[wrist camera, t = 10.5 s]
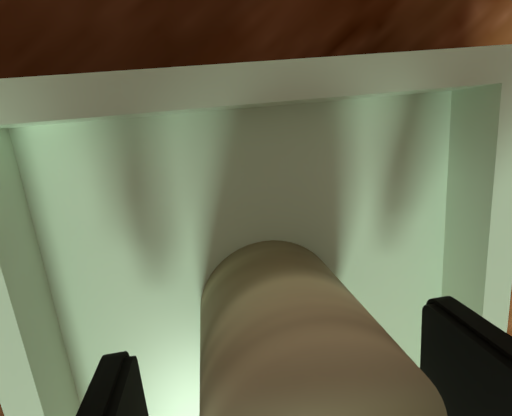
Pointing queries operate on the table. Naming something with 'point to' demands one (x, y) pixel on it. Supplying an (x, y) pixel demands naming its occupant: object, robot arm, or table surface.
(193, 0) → the table surface
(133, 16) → the table surface
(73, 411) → the bin
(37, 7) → the table surface
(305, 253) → the beige cylinder
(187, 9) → the table surface
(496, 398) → the robot arm
